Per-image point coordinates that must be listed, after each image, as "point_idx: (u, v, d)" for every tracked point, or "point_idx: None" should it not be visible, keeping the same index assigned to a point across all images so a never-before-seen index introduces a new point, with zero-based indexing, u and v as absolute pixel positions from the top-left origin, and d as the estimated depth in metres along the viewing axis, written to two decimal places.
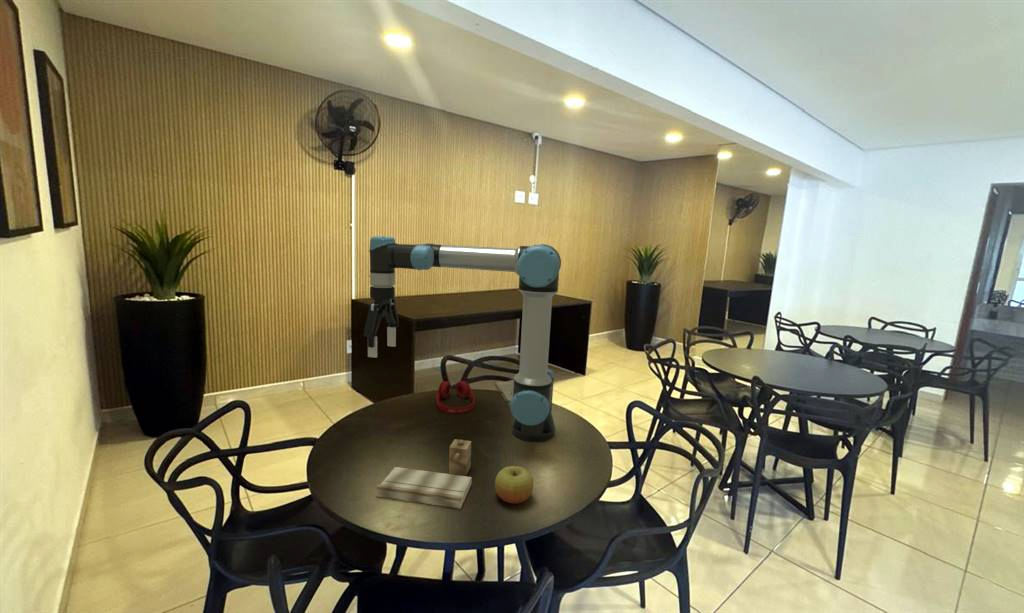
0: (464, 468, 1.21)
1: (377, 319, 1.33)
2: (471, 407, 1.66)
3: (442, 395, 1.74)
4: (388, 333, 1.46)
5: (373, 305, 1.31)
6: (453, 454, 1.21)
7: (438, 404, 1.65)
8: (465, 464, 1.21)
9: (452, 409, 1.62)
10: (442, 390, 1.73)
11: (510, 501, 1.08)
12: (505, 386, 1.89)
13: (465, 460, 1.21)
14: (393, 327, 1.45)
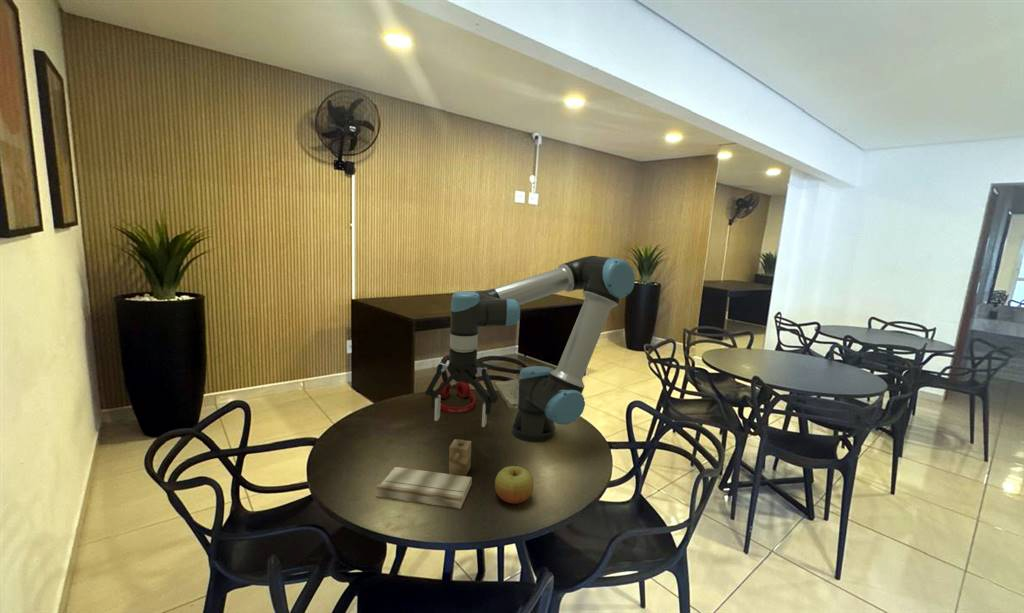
0: (464, 468, 1.21)
1: (444, 381, 1.20)
2: (471, 407, 1.66)
3: (442, 395, 1.74)
4: None
5: None
6: (453, 454, 1.21)
7: None
8: (465, 464, 1.21)
9: (452, 409, 1.62)
10: (442, 390, 1.74)
11: (510, 501, 1.08)
12: (504, 386, 1.89)
13: (465, 460, 1.21)
14: (484, 403, 1.19)
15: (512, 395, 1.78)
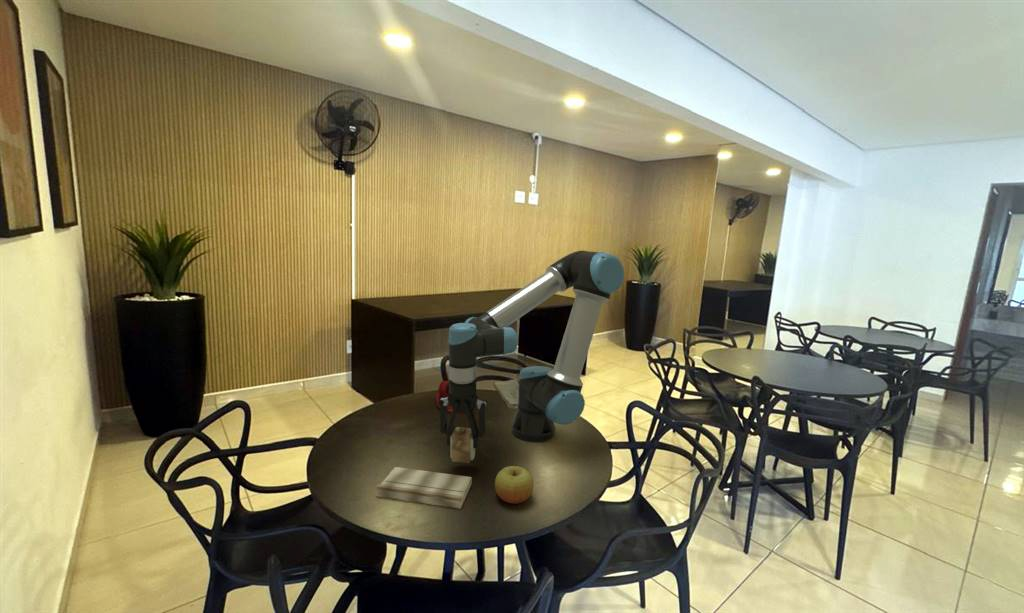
0: (467, 455, 1.21)
1: (451, 416, 1.22)
2: None
3: (442, 395, 1.74)
4: None
5: None
6: (455, 442, 1.21)
7: (438, 403, 1.66)
8: (468, 451, 1.21)
9: (452, 408, 1.62)
10: (442, 390, 1.74)
11: (510, 501, 1.08)
12: (503, 386, 1.89)
13: (468, 447, 1.21)
14: (472, 437, 1.22)
15: (512, 395, 1.78)
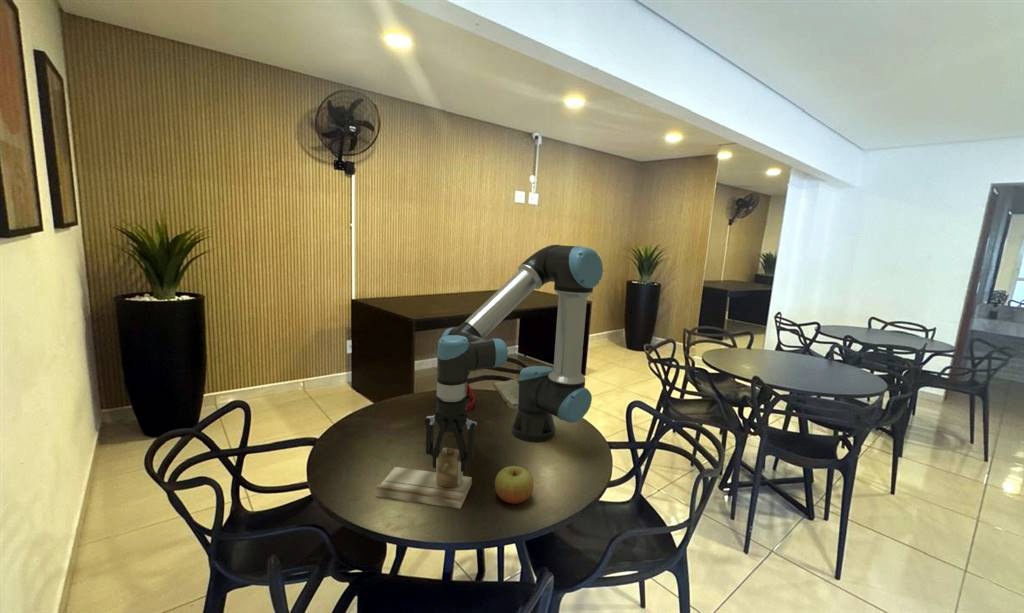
0: (454, 479, 1.11)
1: (438, 436, 1.12)
2: (471, 406, 1.67)
3: None
4: None
5: None
6: (442, 464, 1.11)
7: None
8: (455, 475, 1.11)
9: None
10: None
11: (510, 501, 1.08)
12: (503, 386, 1.89)
13: (455, 471, 1.11)
14: (459, 460, 1.12)
15: (512, 395, 1.78)
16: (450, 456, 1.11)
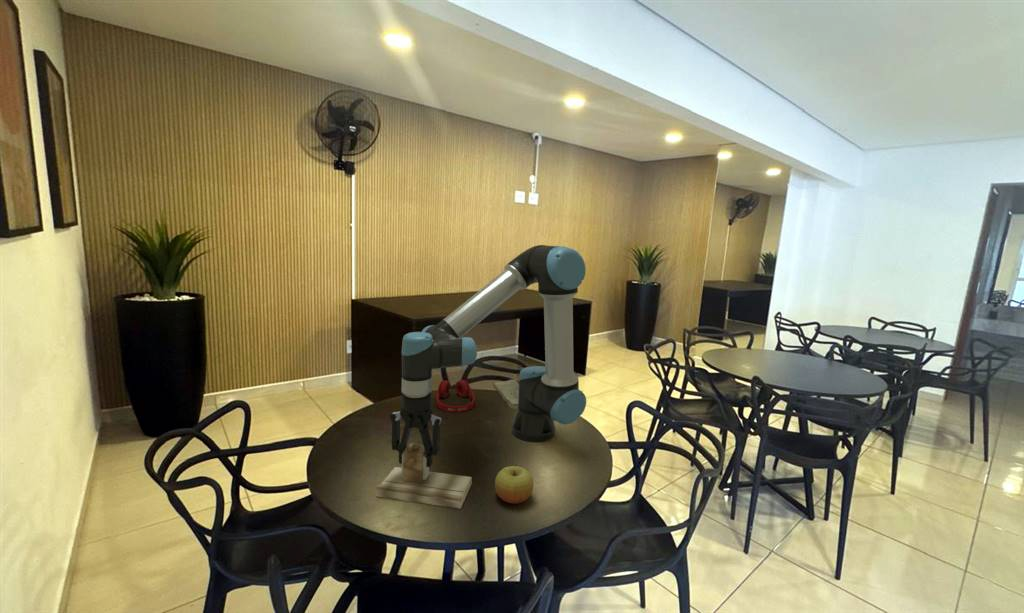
0: (419, 474, 1.12)
1: None
2: (471, 406, 1.67)
3: (442, 394, 1.75)
4: None
5: None
6: (407, 459, 1.12)
7: (438, 403, 1.66)
8: (420, 470, 1.12)
9: (452, 408, 1.63)
10: (442, 389, 1.74)
11: (510, 501, 1.08)
12: (503, 386, 1.89)
13: (420, 466, 1.12)
14: (425, 455, 1.13)
15: (512, 395, 1.78)
16: (415, 451, 1.13)
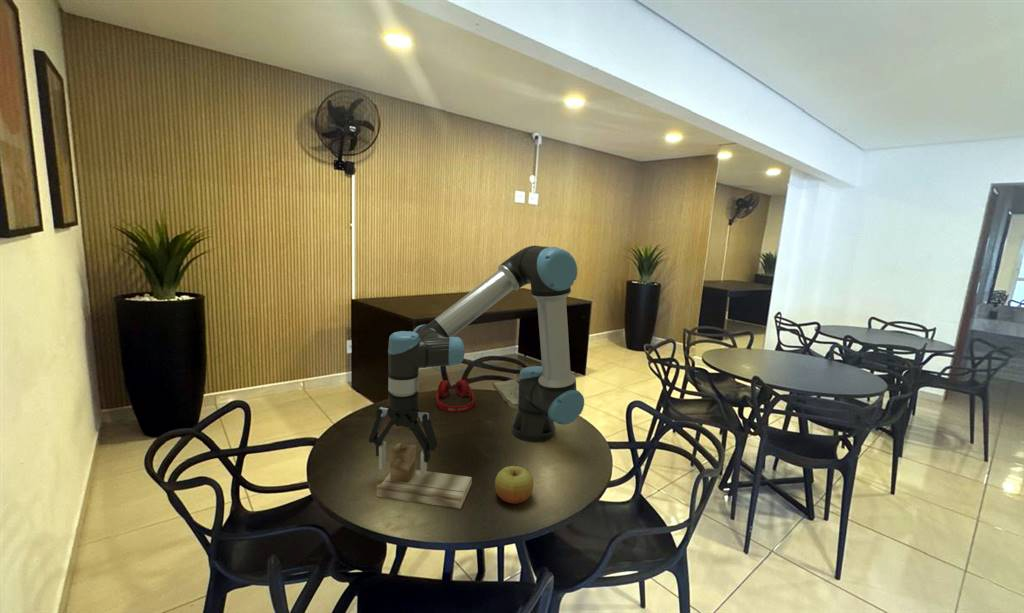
0: (406, 474, 1.13)
1: (386, 427, 1.14)
2: (471, 406, 1.67)
3: (442, 394, 1.75)
4: None
5: None
6: (394, 459, 1.13)
7: (438, 403, 1.67)
8: (407, 470, 1.13)
9: (452, 408, 1.63)
10: (442, 389, 1.75)
11: (510, 501, 1.08)
12: (503, 386, 1.89)
13: (407, 466, 1.13)
14: (423, 450, 1.13)
15: (513, 395, 1.78)
16: (402, 451, 1.13)
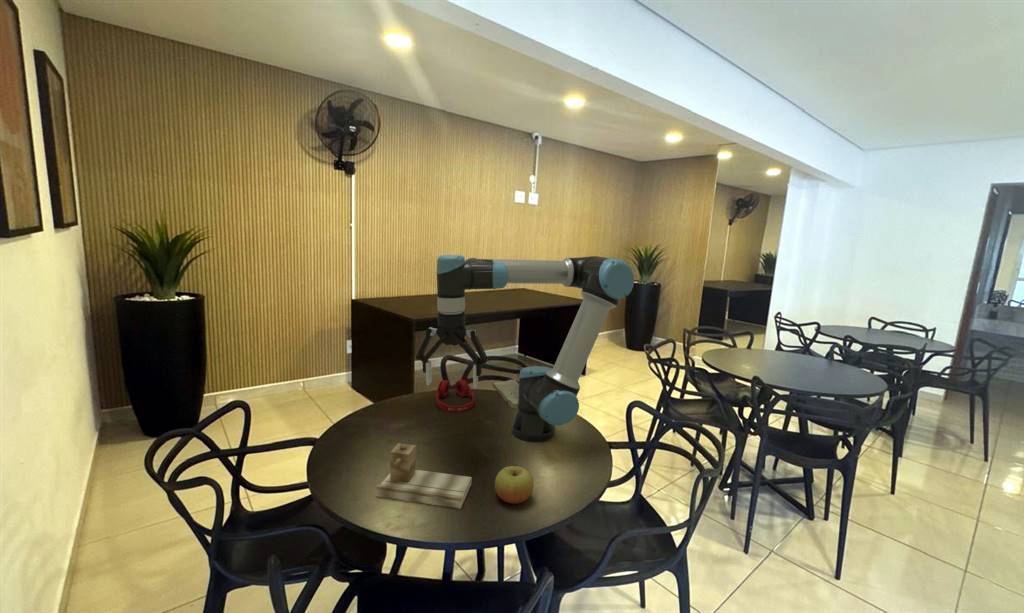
0: (406, 474, 1.13)
1: (434, 345, 1.21)
2: (470, 405, 1.67)
3: (441, 394, 1.75)
4: None
5: (427, 329, 1.21)
6: (394, 459, 1.13)
7: (438, 403, 1.67)
8: (407, 470, 1.13)
9: (452, 407, 1.63)
10: (441, 389, 1.75)
11: (510, 501, 1.08)
12: (503, 386, 1.89)
13: (407, 466, 1.13)
14: (475, 365, 1.20)
15: (513, 395, 1.78)
16: (402, 451, 1.13)
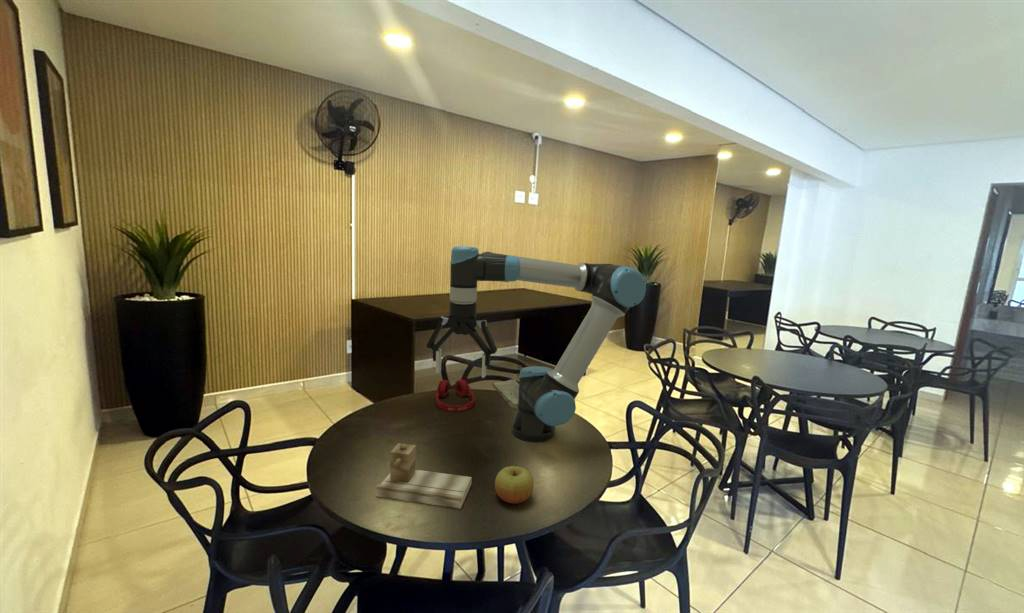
0: (406, 474, 1.13)
1: None
2: (470, 405, 1.68)
3: (441, 394, 1.75)
4: None
5: (439, 318, 1.24)
6: (394, 459, 1.13)
7: (438, 402, 1.67)
8: (407, 470, 1.13)
9: (452, 407, 1.64)
10: (441, 389, 1.75)
11: (510, 501, 1.08)
12: (503, 386, 1.89)
13: (407, 466, 1.13)
14: (484, 355, 1.23)
15: (513, 395, 1.78)
16: (402, 451, 1.13)
